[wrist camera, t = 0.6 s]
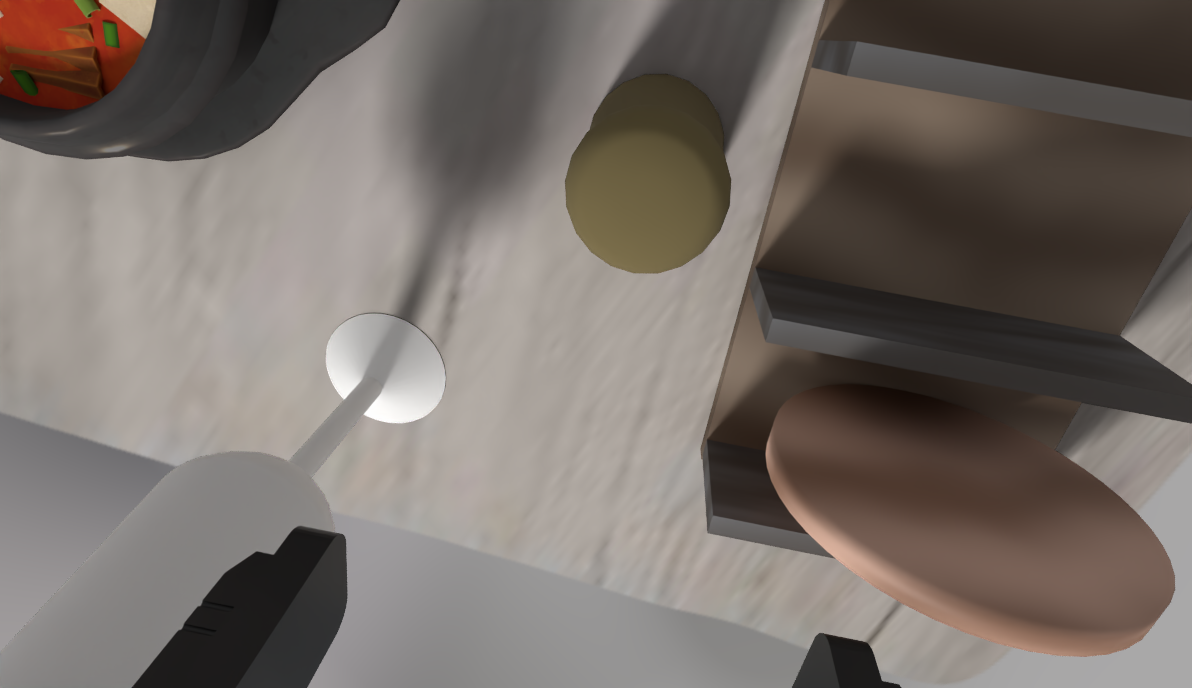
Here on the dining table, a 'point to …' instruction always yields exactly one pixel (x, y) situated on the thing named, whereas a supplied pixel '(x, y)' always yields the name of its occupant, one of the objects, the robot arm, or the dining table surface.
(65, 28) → the casserole
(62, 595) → the champagne flute
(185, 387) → the dining table surface
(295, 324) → the dining table surface
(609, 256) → the cork
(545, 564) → the dining table surface
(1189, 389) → the rack
